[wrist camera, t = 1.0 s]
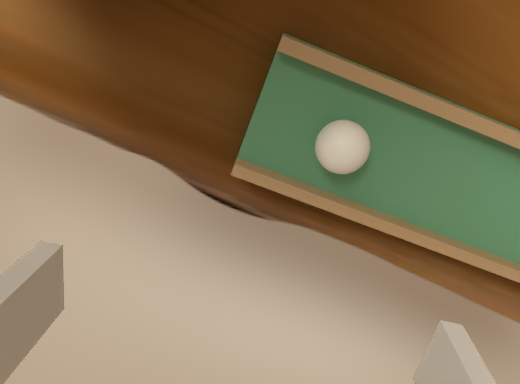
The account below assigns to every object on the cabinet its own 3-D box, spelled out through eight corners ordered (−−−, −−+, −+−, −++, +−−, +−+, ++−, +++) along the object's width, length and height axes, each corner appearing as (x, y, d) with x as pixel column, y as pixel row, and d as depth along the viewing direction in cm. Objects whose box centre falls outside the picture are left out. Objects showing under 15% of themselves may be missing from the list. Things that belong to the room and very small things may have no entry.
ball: (326, 105, 30) (331, 119, 26) (374, 125, 30) (385, 140, 26) (305, 152, 31) (307, 170, 28) (351, 169, 32) (358, 190, 28)
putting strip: (283, 32, 30) (282, 35, 26) (657, 186, 33) (702, 208, 29) (236, 157, 35) (230, 175, 31) (568, 283, 38) (598, 312, 34)
